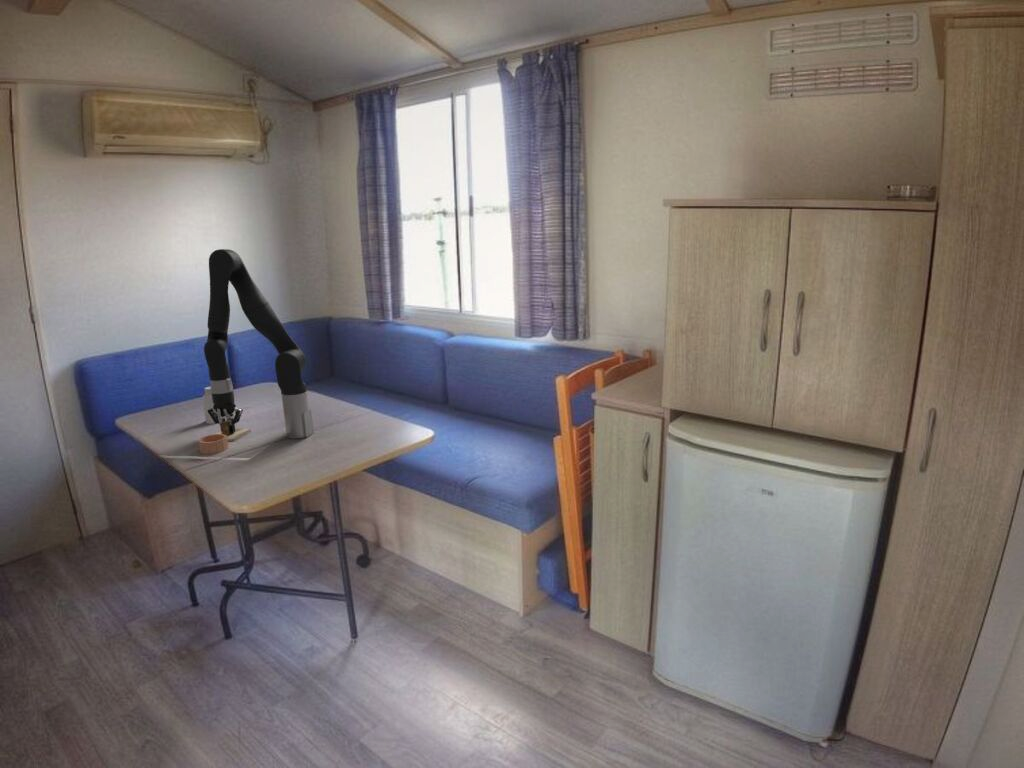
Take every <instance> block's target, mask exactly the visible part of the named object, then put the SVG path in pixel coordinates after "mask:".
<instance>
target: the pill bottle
mask: <svg viewBox="0 0 1024 768" xmlns="http://www.w3.org/2000/svg"><path fill="white" fill-rule="evenodd" d="M201 400H202V406H203V410H204V417H205V422H206V424H211V425H213V424H214V425H215V424H216V423H215V422H214V421H213V419H212V418H211V416H210V415H209V413H208V410H209V409H211V408H213V406H214V404H213V401H212V394H211V388H210V386H207V387H204V394H203V396H202V398H201ZM216 413H217V412H216ZM217 414H218V413H217ZM225 419H226V418H225ZM226 420H227V419H226Z"/></svg>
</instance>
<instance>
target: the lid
mask: <svg viewBox="0 0 1024 768" xmlns="http://www.w3.org/2000/svg"><path fill="white" fill-rule="evenodd" d="M220 426H221V427H220ZM219 427H220V430H219V431H217V432H215V433H214V434H224V435H227V441H235V440H237V439H238V438H240V437H242V436H243V435H245V434H246V433H248V432H250V431H251V429H250V428H249V429H248V428H235V433H234V434H230V431H229V424H228V420H225V421H224V422H222V423H220V425H219ZM250 433H251V432H250ZM248 434H249V433H248ZM246 435H247V434H246ZM246 435H245V436H246ZM243 437H244V436H243ZM243 437H242V438H243ZM240 439H241V438H240ZM238 440H239V439H238ZM238 440H237V441H238ZM235 442H236V441H235Z"/></svg>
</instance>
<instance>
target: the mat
mask: <svg viewBox="0 0 1024 768" xmlns="http://www.w3.org/2000/svg"><path fill="white" fill-rule="evenodd" d="M251 432H252V430H250V432H248V433H246V434H245V435H243V436H242V437H240V438H238V439H237V440H235V441H228V443H229V442H231V443H235V442H237V441H238V440H240V439H242V438H243V437H245V436H246V435H249V434H250V433H251Z"/></svg>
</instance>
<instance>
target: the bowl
mask: <svg viewBox="0 0 1024 768" xmlns="http://www.w3.org/2000/svg"><path fill="white" fill-rule="evenodd" d="M198 446H199V451H200V453H201V454H203V455H214V454H218V453H219V454H220V453H221V452H225V451H227V450H228V449H229V442H228V441H227V435H224V434H215V433H213V434H209V435H205V436H202V437H200V438H199V439H198Z"/></svg>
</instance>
